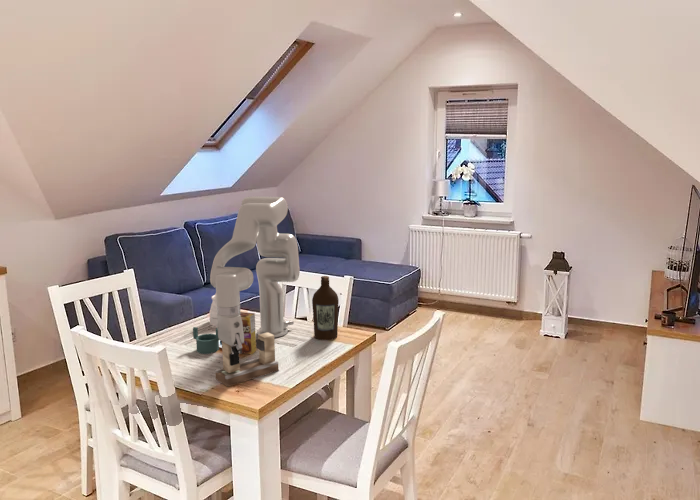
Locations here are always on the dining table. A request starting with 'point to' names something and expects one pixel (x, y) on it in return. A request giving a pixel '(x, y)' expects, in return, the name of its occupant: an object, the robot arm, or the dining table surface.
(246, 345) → the candy box
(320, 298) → the olive oil
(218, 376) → the rail
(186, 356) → the dining table surface
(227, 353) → the tan block
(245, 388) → the dining table surface
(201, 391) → the dining table surface
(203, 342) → the green cup
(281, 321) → the robot arm
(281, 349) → the dining table surface
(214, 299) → the honey pot
